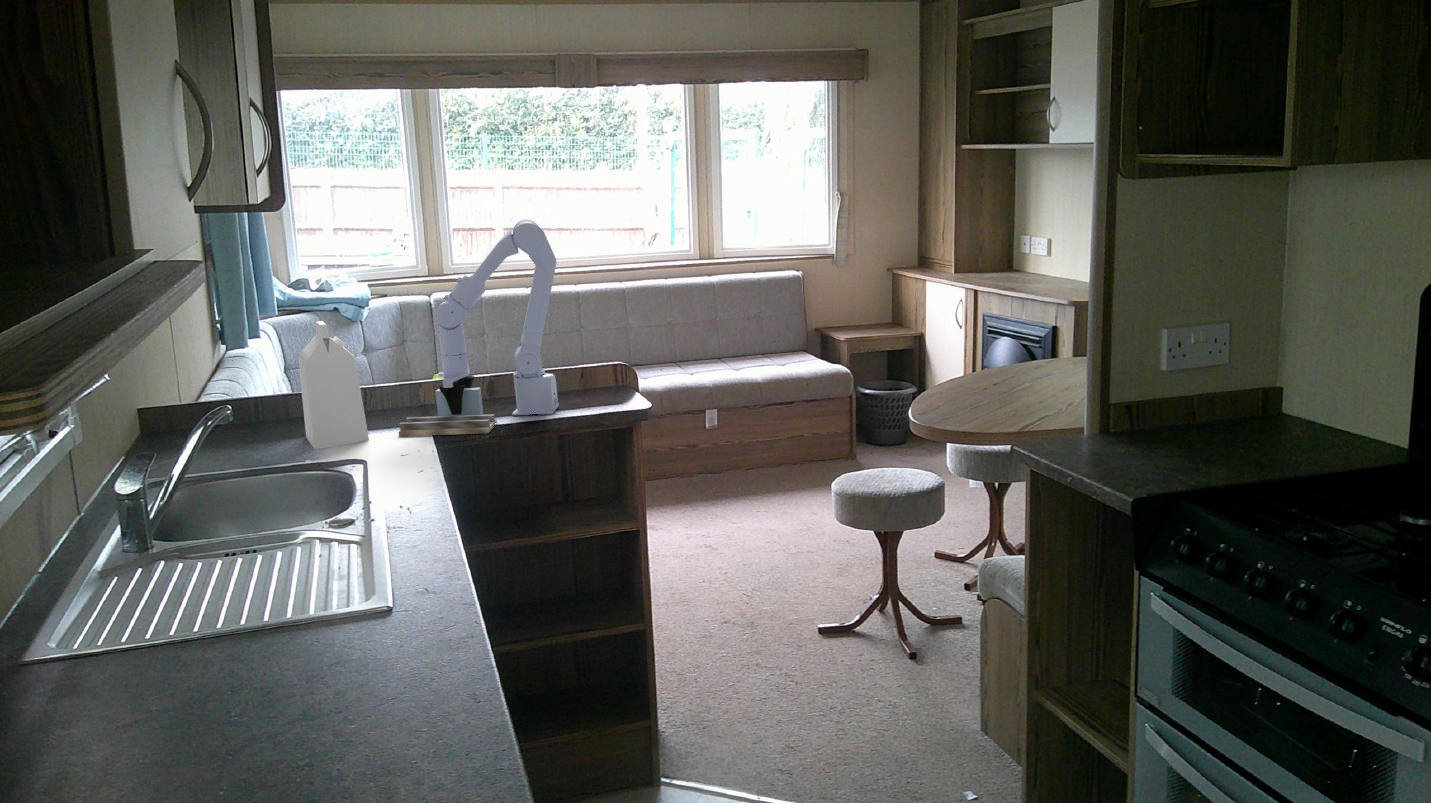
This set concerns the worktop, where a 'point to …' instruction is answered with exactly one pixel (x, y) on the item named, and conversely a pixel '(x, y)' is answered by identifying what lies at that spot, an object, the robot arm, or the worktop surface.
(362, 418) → the milk
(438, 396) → the door panel
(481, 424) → the track board
